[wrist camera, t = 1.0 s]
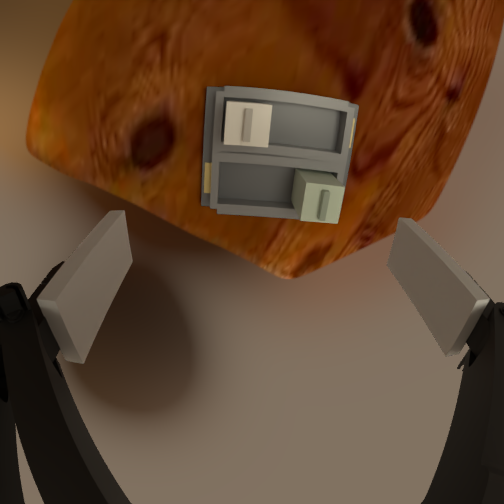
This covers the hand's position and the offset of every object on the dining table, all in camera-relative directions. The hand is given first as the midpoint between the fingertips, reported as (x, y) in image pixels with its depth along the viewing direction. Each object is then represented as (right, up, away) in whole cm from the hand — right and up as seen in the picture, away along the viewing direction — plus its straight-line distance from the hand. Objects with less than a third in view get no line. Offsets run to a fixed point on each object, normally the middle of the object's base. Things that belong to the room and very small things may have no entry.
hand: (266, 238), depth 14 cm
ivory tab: (-1, +14, +17) cm, 21 cm away
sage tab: (+6, +7, +21) cm, 23 cm away
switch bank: (+2, +11, +20) cm, 23 cm away
